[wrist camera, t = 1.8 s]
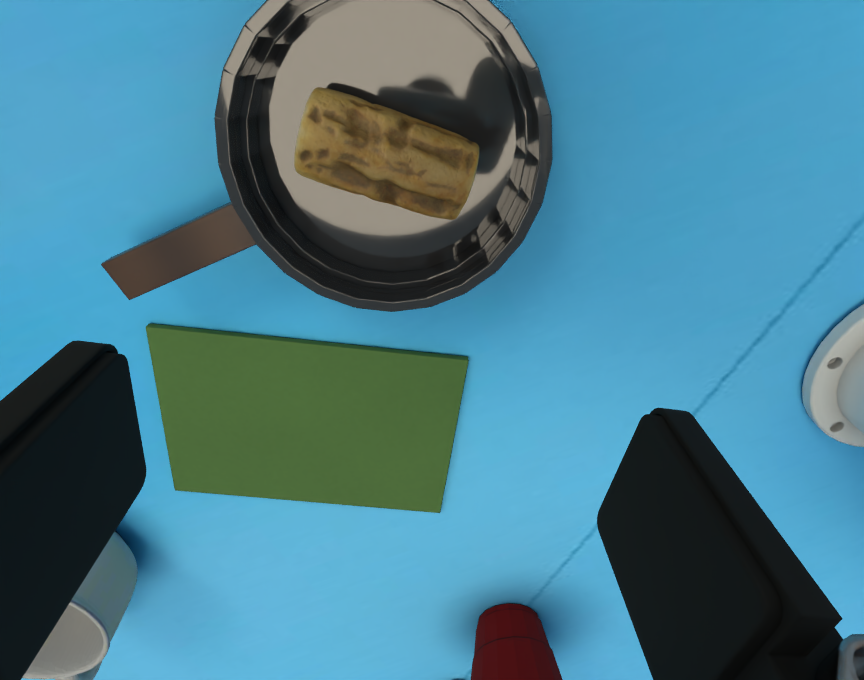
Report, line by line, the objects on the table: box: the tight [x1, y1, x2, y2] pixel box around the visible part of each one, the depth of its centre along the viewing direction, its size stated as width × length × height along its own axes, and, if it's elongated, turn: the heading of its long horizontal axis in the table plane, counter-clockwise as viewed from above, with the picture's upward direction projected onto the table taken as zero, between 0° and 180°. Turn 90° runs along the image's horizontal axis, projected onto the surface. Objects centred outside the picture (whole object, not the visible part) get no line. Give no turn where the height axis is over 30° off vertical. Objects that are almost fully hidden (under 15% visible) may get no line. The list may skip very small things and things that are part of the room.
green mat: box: [146, 323, 469, 513], centre depth 35 cm, size 20×14×1 cm
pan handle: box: [101, 202, 256, 300], centre depth 26 cm, size 8×2×1 cm, turn 113°
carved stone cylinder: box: [294, 87, 479, 220], centre depth 24 cm, size 8×4×4 cm, turn 71°
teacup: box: [22, 532, 138, 680], centre depth 39 cm, size 14×11×8 cm
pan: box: [214, 0, 552, 312], centre depth 25 cm, size 15×15×4 cm
